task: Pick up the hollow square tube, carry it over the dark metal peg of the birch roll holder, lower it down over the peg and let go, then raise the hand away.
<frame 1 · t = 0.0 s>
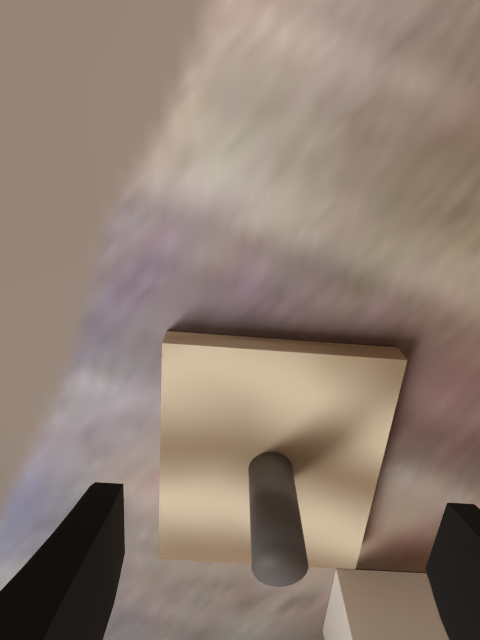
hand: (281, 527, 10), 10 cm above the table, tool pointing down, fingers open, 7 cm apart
roll holder: (268, 452, 22), on the table
hollow square tube: (372, 602, 26), on the table
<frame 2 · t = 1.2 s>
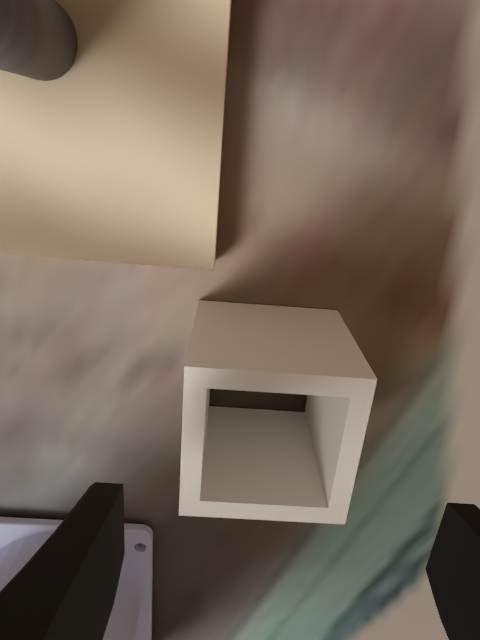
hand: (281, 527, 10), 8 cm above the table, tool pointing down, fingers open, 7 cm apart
roll holder: (56, 46, 13), on the table
hollow square tube: (261, 366, 17), on the table
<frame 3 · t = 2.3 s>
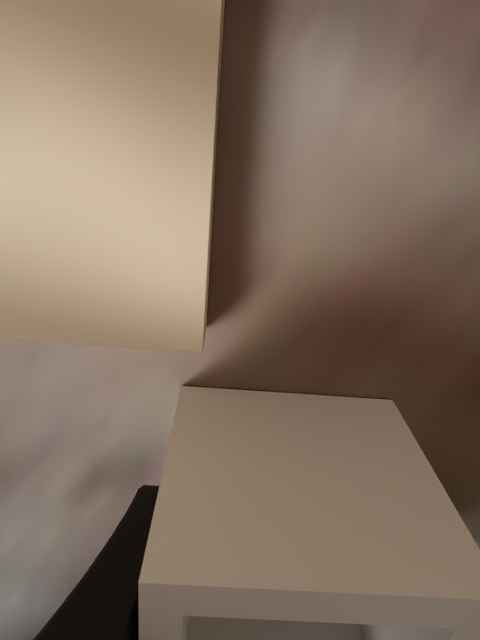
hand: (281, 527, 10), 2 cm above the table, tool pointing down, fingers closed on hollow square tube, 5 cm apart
hollow square tube: (276, 477, 12), on the table, touching gripper
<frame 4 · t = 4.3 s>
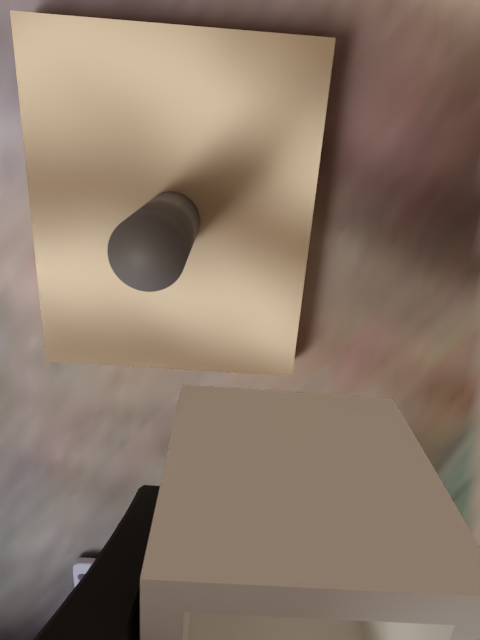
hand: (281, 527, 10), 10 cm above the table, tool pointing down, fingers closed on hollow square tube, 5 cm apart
roll holder: (176, 214, 17), on the table
hollow square tube: (276, 475, 12), point 8 cm above the table, touching gripper
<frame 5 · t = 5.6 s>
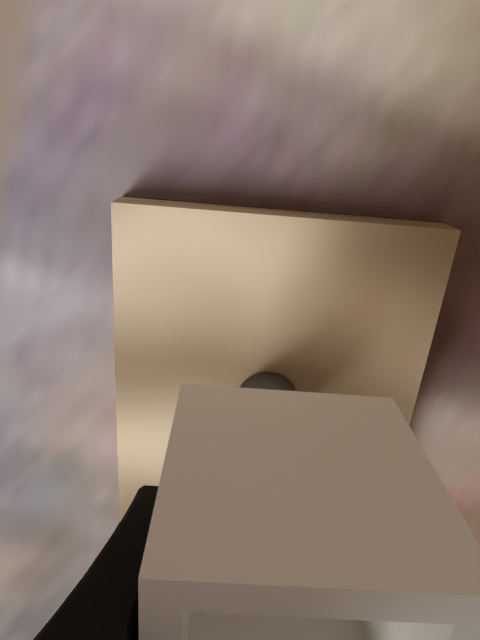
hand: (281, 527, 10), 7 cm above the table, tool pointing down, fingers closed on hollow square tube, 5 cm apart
roll holder: (264, 379, 16), on the table
hollow square tube: (276, 474, 12), point 5 cm above the table, touching gripper
when the fingers open (4 cm above the table, at t = 6.7 s): hollow square tube drops 1 cm, resting on roll holder.
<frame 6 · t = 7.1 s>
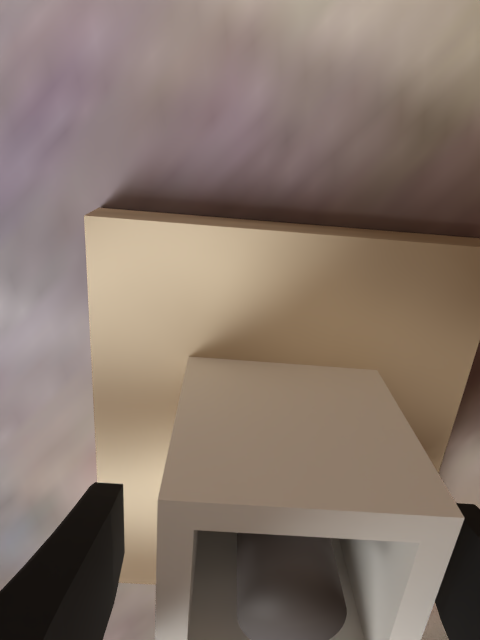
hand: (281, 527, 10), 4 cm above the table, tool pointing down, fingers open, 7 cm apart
roll holder: (269, 418, 14), on the table
hollow square tube: (273, 441, 13), point 1 cm above the table, touching roll holder
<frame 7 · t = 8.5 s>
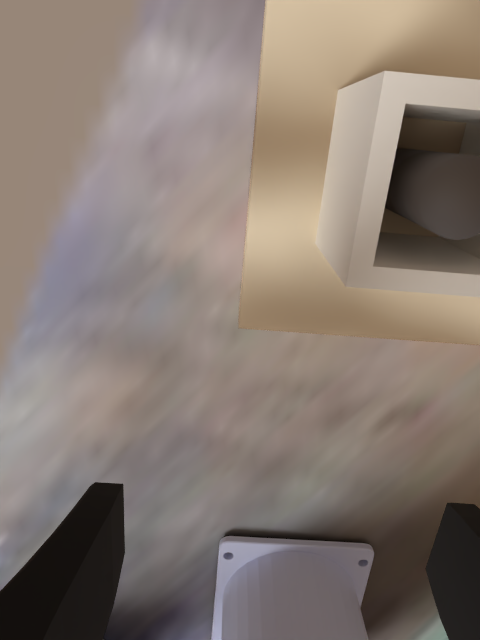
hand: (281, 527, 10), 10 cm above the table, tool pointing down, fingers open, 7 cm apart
roll holder: (386, 176, 17), on the table
hollow square tube: (397, 177, 16), point 1 cm above the table, touching roll holder
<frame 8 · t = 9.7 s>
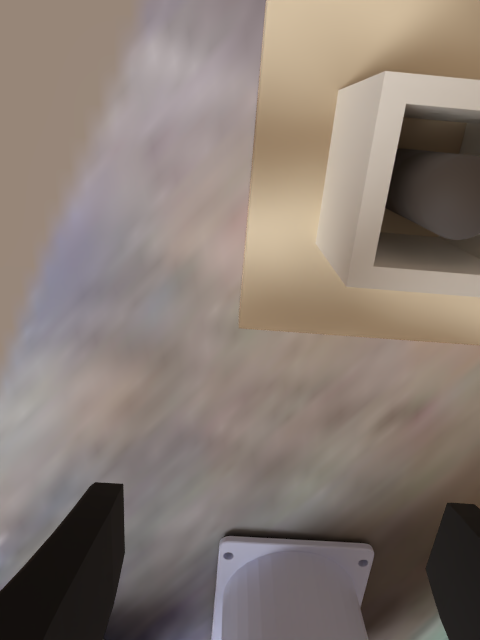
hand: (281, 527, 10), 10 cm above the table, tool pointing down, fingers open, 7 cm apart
roll holder: (386, 176, 17), on the table
hollow square tube: (398, 177, 16), point 1 cm above the table, touching roll holder
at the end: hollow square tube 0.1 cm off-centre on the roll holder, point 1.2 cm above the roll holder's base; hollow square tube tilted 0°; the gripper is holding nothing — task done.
